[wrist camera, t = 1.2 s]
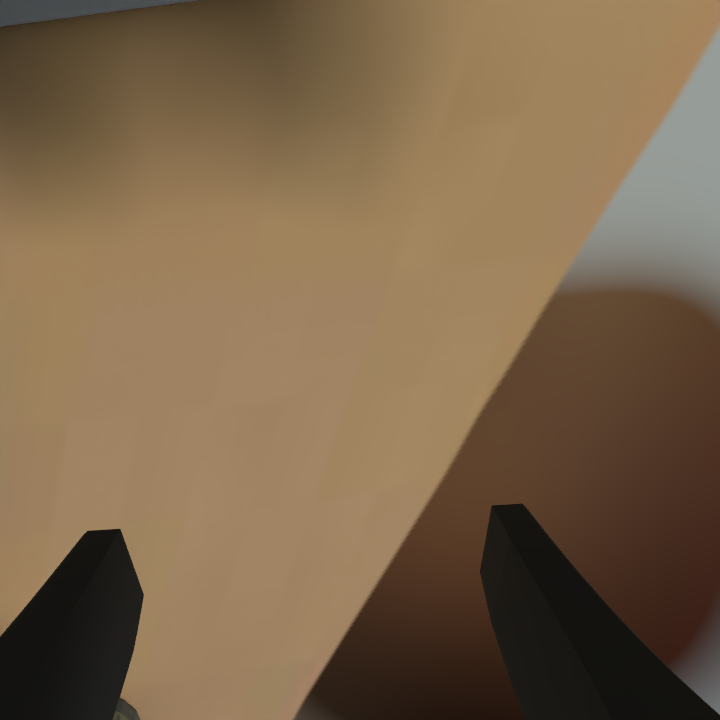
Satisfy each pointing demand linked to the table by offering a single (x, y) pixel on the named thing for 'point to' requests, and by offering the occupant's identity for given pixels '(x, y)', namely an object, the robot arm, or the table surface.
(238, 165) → the table surface
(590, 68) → the table surface
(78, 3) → the mat
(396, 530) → the table surface
